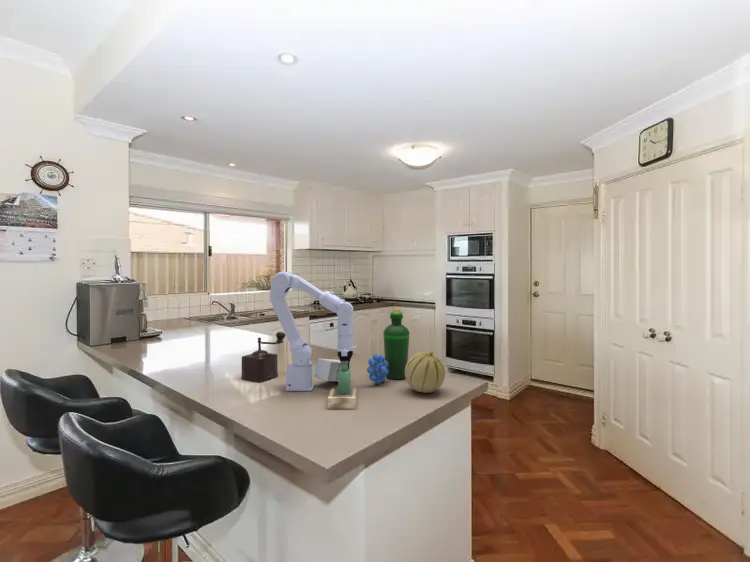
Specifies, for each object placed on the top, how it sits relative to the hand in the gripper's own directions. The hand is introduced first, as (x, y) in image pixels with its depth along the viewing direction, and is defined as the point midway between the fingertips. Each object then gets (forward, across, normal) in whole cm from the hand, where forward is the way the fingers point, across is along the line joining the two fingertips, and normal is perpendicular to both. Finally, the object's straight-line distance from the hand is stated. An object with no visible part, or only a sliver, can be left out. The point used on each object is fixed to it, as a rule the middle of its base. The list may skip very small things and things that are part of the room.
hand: (345, 371), depth 151 cm
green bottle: (+6, -6, 0) cm, 8 cm away
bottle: (+7, +14, -20) cm, 26 cm away
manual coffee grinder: (+7, +17, +34) cm, 38 cm away
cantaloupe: (+7, -5, -29) cm, 30 cm away
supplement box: (+3, +11, +1) cm, 12 cm away
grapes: (+7, +4, -13) cm, 15 cm away
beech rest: (+6, -14, 0) cm, 16 cm away
